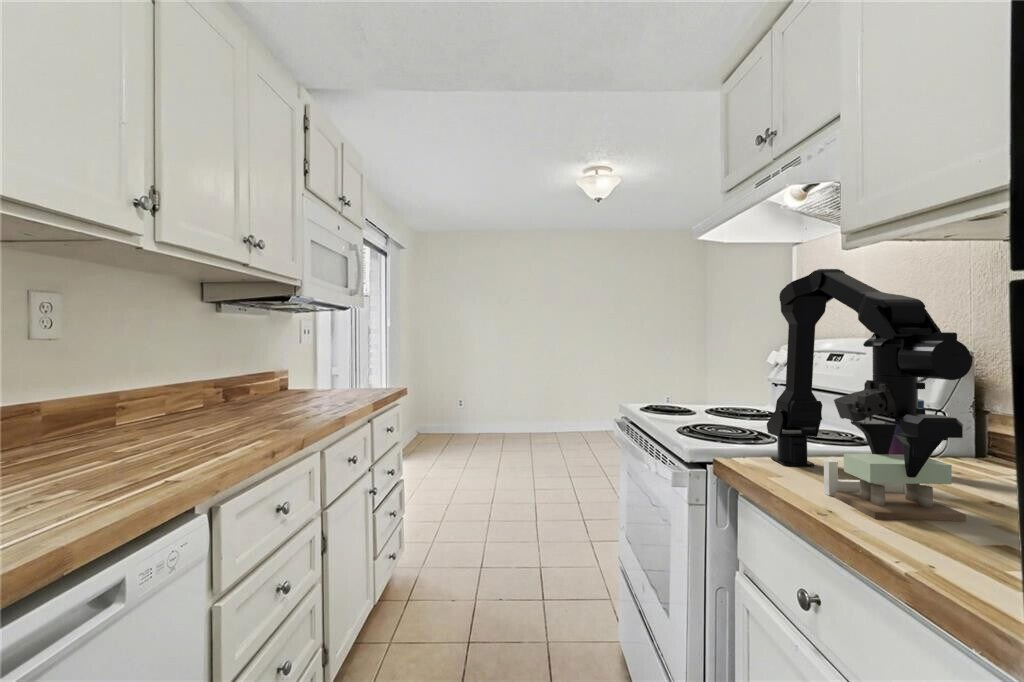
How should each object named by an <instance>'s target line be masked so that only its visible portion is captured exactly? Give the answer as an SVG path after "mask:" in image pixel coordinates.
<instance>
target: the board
mask: <svg viewBox="0 0 1024 682" xmlns="http://www.w3.org/2000/svg"><path fill="white" fill-rule="evenodd" d="M843 472H845V474H848V475H852V476H854V477H855V478H859V480H860V479H863V480H865V481H867V482H869V483H907V484H920V485H952V482H953V481H952V480H953V479H952V464H949V463H946V462H943V461H941V460H940V461H939V460H936V459H933V458H930V457H929V458H928V460H927V461H926V463H925V464H924V466H923V467H922V469H921V470H920V472H919V473H918V475H917V476H916V477H915V478H912V477H907V474H906V469H905V461H904V455H892V454H872V453H843Z"/></svg>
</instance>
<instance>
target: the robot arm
mask: <svg viewBox="0 0 1024 682" xmlns="http://www.w3.org/2000/svg"><path fill="white" fill-rule="evenodd" d="M778 298H779V302H780V313H781V314H782V316H783V317H784V319H785V321H786V322H787V324H788V329H787V330H788V332H787V333H788V334H787V336H788V337H787V352H786V353H787V355H786V376H785V389H784V390H783V392H782V393H781V394H780V396H779V397H778V398H777V399H776V404H775V411H774V412H773V413H772V415H771V416H770V418H769V420H768V421H767V422H766V429H767V433H768V434H769V435H773V436H775V437H777V439H776V440H777V447H776V448H777V456H774V455H773V456H770V459H771V460H773V461H775V462H777V463H778V464H781V465H783V466H793V467H794V466H795V467H796V466H798V467H800V466H803V467H810V466H811V467H814V466H815V465H816V464H815V462H812V461H809V460H808V437H813V438H817V437H818V435H819V434H818V433H819V430H820V426H821V423H822V421H823V416H822V414H823V413H822V411H823V410H822V409H823V403H822V401H820V400H818V399H817V397H816V396H815V394H814V393H813V377H814V375H813V374H814V373H813V372H814V357H815V339H816V325H817V324H818V322H819V321H820V319H821V318H822V317H823V316H824V314H825V313H826V308H827V303H828V302H830V301H832V300H833V299H835V300H837V301H839V302H840V303H842V304H843V305H845V306H847V307H848V308H850V309H852V310H853V311H855V312H856V313H857V320H858V321H859V323H861V324H862V325H863V326H864V327H865V328H866V329H867V330H868V331H869V332H870V333H872V335H871V336H870V337H869V338H868V339H867V340H865V341H864V342H863V344H862V345H863V347H864V348H865V347H866V348H872V379H871V380H870V379H866V380H865V382H864V388H863V389H862V390H859V391H854V392H851V393H849V394H846V395H844V396H843V395H842V396H840V397H837V398H834V399H833V402H834V405H835V408H836V409H837V410H836V411H837V413H838V416H839V418H840V419H843V420H844V419H847V420H849V421H850V424H851V425H853V426H855V427H857V429H858V430H860V431H861V432H862V434H864V437H865V439H866V441H867V444H868V446H869V450H870V452H871V454H889V450H890V447H891V443H892V439H893V436H894V435H895V436H896V437H897V438H898V439H899V440H900V441H901V442H902V444H903V451H904V461H905V469H906V474H907V477H912V478H915V477H916V476H917V475H918V473H919V472H920V470H921V469H922V467H923V466H924V464H925V463H926V461H927V460H928V458H930V457H931V456H932V454H933V453H934V452H935V450H936V449H937V448H938V447H939V446H940V445H941V443H943V441H948V439H963V438H964V424H963V423H962V422H961V421H960V420H959V419H958V418H957V417H952V416H948V415H947V416H946V415H941V414H926V408H924V409H923V408H918V399H919V390H926V382H921V381H920V382H919V378H920V379H921V378H922V379H923V378H924V379H933V380H944V381H945V380H946V381H956V380H959V379H962V378H964V377H965V376H967V374H968V373H969V372H970V370H971V368H972V366H973V355H971V352H970V351H969V349H968V347H967V346H966V345H965V344H964V343H962V342H961V341H959V340H958V333H957V332H949V331H948V332H942V330H941V328H940V327H939V326H938V324H936V321H935V320H934V319H933V318H932V317H931V314H929V312H928V310H927V309H926V304H925V303H924V302H923V301H921V300H920V299H918V298H914V297H911V296H906V295H903V294H895V293H887V292H884V291H880V290H878V289H876V288H874V287H873V286H870V285H868V284H866V283H864V282H862V281H861V280H859V279H857V278H855V277H852V276H850V275H849V274H847V273H846V272H845V271H844V270H841V269H839V268H818V269H816V270H813V271H812V272H811V273H810V274H807V275H806V276H802V277H800V278H797V279H796V280H795V279H794V280H792V281H791V282H789V283H787V284H786V285H785V286H784V287H783V288H782V289H781V291H780V293H779V297H778ZM900 419H901V420H900ZM888 422H889V423H888ZM892 423H893V424H892ZM896 424H897V425H900V427H901V429H902V431H903V432H904V433H894V432H895V428H896Z"/></svg>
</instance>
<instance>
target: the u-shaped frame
mask: <svg viewBox="0 0 1024 682" xmlns="http://www.w3.org/2000/svg"><path fill="white" fill-rule="evenodd" d="M873 484H879V485H883V486H885V493H905V483H873ZM835 492H860V479H839V462H838V461H836V460H834V459H823V494H825V495H827V496H829V497H835Z"/></svg>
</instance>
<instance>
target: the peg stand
mask: <svg viewBox="0 0 1024 682" xmlns="http://www.w3.org/2000/svg"><path fill="white" fill-rule="evenodd" d="M859 480H860V492H835V496H834V498H835V499H836V500H839V501H841V502H842V503H845V504H847V505H848V506H850V507H852V508H854V509H856V510H858V511H860V512H861V513H863V514H865V515H867V516H869V517H871V518H873V519H875V520H908V521H909V520H914V521H915V520H917V521H920V520H921V521H955V522H956V521H957V522H958V521H960V522H966V521H967V520H966V518H967V516H966V513H963V512H961V511H958V510H956V509H954V508H951V507H949V506H946V505H944V504H942V503H939V502H936V501H934V489H933V488H934V487H933V486H930V485H928V484H907V483H905V493H885V486H883V485H879V484H873V483H869V482H867V481H865V480H863V479H860V478H859ZM963 520H964V521H963ZM965 520H966V521H965Z"/></svg>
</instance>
